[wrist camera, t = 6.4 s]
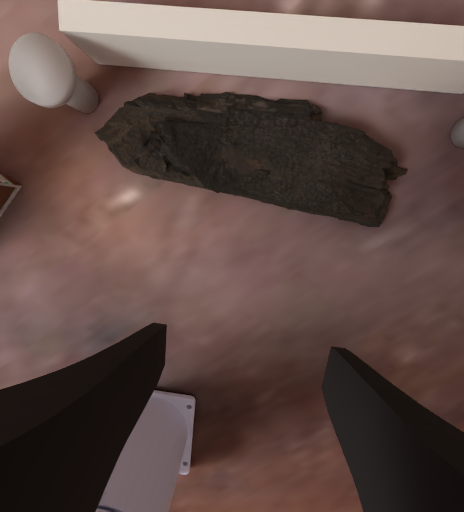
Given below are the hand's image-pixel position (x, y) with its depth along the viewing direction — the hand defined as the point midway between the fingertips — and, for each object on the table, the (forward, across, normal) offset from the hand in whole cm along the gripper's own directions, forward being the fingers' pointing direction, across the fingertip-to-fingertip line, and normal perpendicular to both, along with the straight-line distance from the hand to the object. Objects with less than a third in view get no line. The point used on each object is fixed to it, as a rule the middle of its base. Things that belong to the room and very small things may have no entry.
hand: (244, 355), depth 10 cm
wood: (+10, +1, -10) cm, 14 cm away
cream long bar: (+10, 0, -13) cm, 17 cm away
